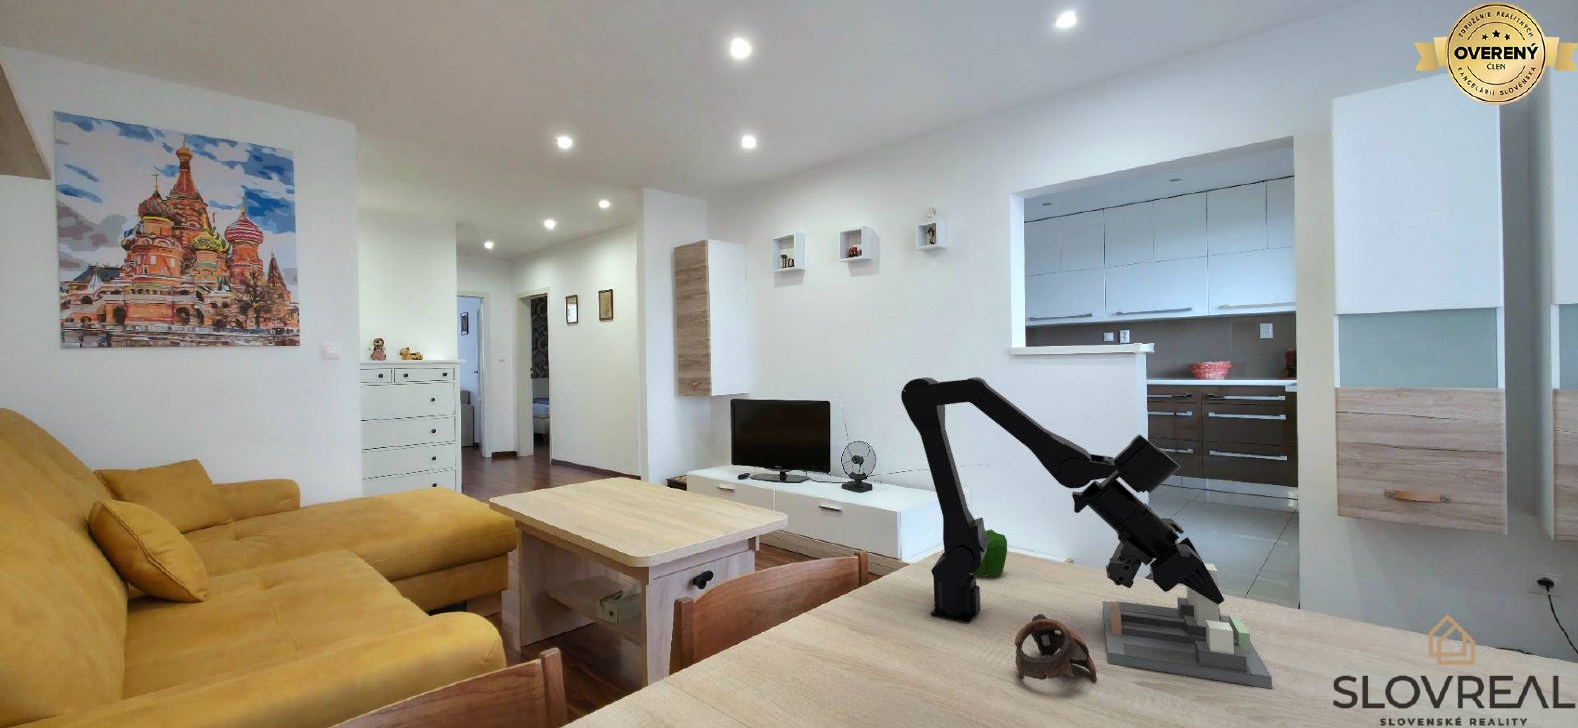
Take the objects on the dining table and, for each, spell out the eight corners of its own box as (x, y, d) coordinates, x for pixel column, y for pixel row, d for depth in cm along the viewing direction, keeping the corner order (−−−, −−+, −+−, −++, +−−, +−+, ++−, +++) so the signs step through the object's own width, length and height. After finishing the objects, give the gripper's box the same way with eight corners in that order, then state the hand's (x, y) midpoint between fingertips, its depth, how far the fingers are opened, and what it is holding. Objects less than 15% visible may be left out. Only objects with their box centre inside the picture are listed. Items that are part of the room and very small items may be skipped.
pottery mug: (1116, 697, 76) (1091, 648, 74) (1046, 727, 78) (1019, 679, 76) (1074, 631, 88) (1051, 587, 86) (1013, 658, 89) (989, 615, 87)
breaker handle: (1188, 639, 86) (1185, 568, 86) (1184, 629, 89) (1182, 560, 89) (1231, 645, 84) (1228, 572, 84) (1225, 634, 87) (1223, 564, 87)
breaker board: (1108, 664, 83) (1106, 616, 83) (1102, 609, 101) (1101, 569, 101) (1272, 690, 76) (1271, 637, 76) (1235, 625, 94) (1234, 583, 94)
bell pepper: (1005, 567, 123) (1003, 517, 123) (1010, 582, 115) (1008, 528, 115) (962, 565, 125) (960, 516, 125) (963, 580, 117) (961, 527, 117)
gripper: (1084, 532, 102) (1164, 608, 97) (1085, 568, 85) (1183, 662, 80) (1136, 487, 98) (1222, 563, 94) (1149, 515, 81) (1254, 609, 77)
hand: (1218, 597), depth 86 cm, fingers closed on breaker handle, 3 cm apart
